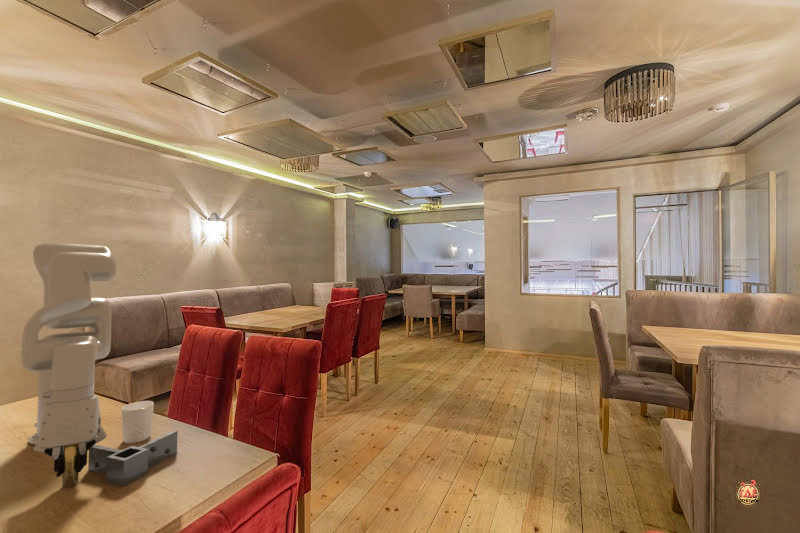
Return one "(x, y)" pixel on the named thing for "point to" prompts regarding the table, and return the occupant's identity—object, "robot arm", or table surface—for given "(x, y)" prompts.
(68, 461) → the hinge pin
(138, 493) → the table surface
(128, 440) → the white cup
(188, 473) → the table surface
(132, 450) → the hinge body
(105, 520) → the table surface
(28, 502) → the table surface
